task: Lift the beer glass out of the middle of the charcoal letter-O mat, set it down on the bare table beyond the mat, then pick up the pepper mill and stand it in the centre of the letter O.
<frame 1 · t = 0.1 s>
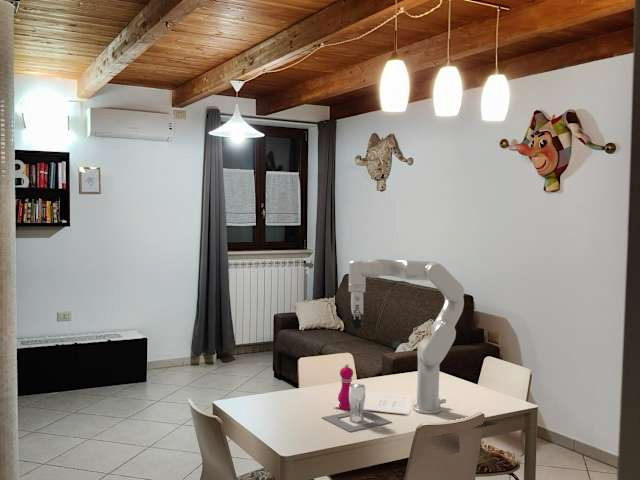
hand: (356, 326, 286), 37 cm above the table, tool pointing down, fingers open, 9 cm apart
pepper mill: (345, 408, 289), on the table
letter o mat: (356, 420, 272), on the table
beer glass: (356, 420, 272), resting in letter o mat
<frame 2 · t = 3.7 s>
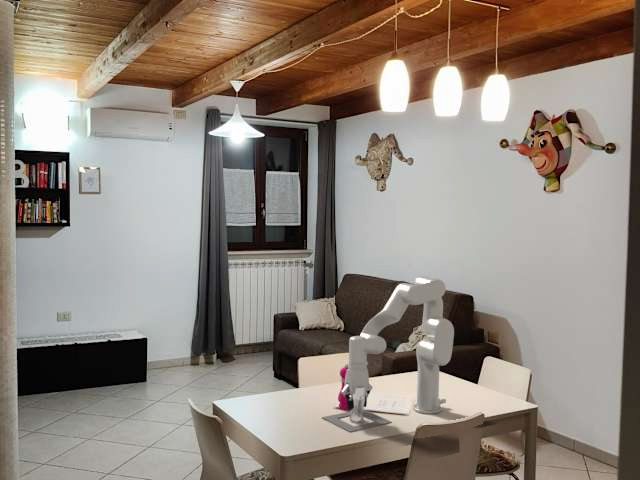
hand: (356, 407, 272), 6 cm above the table, tool pointing down, fingers closed on beer glass, 6 cm apart
beer glass: (356, 420, 272), resting in letter o mat, touching gripper
everything else where it was.
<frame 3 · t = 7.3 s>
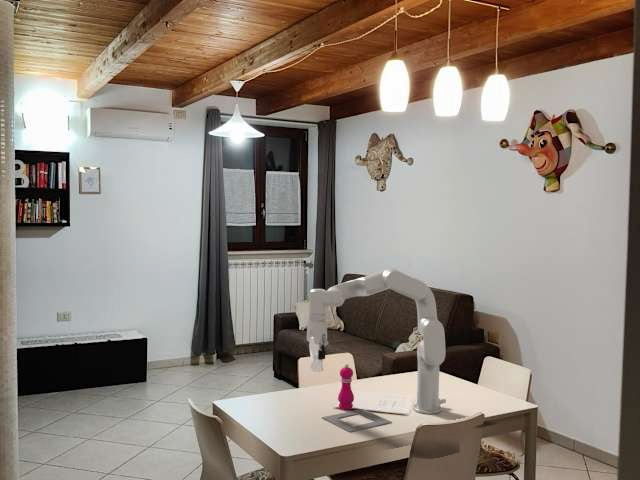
hand: (317, 357, 282), 24 cm above the table, tool pointing down, fingers closed on beer glass, 6 cm apart
beer glass: (316, 370, 282), point 18 cm above the table, touching gripper
everything else where it was.
when the fingers open (7 cm above the table, at t = 10.9 s): beer glass drops 1 cm, on the table.
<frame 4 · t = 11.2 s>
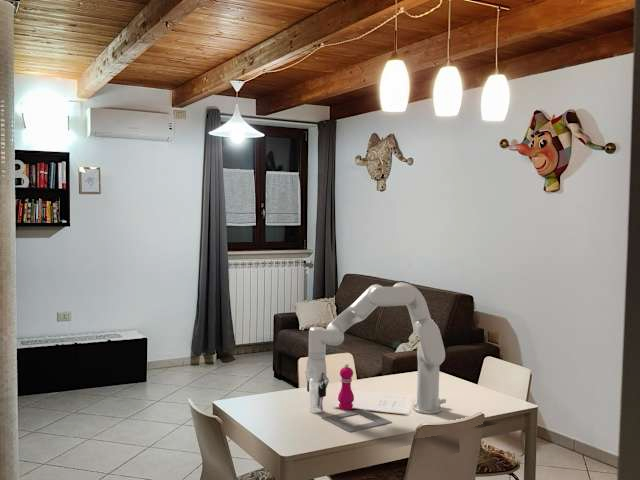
hand: (316, 393, 283), 8 cm above the table, tool pointing down, fingers open, 9 cm apart
beer glass: (316, 411, 283), on the table
everything else where it was.
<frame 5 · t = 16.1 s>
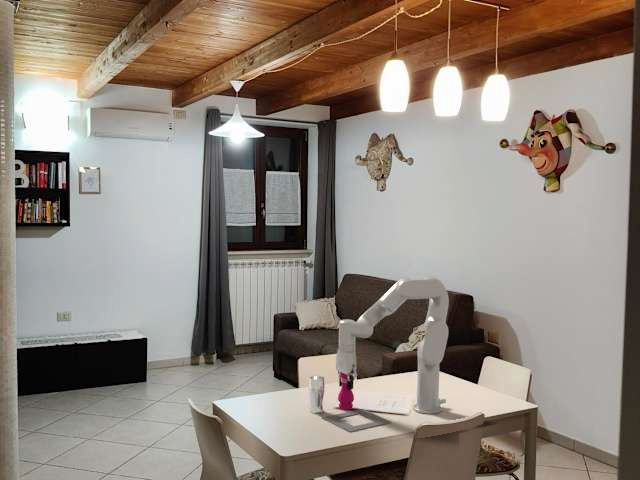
hand: (346, 387, 288), 9 cm above the table, tool pointing down, fingers closed on pepper mill, 5 cm apart
pepper mill: (345, 408, 289), on the table, touching gripper
everything else where it was.
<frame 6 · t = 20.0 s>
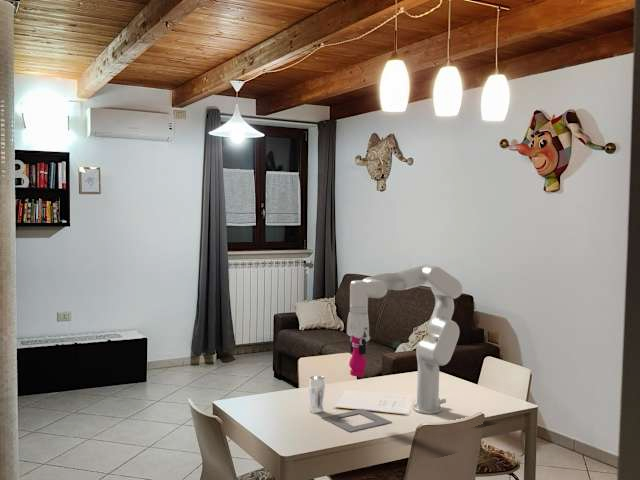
hand: (358, 352, 271), 29 cm above the table, tool pointing down, fingers closed on pepper mill, 5 cm apart
pepper mill: (357, 374, 271), point 20 cm above the table, touching gripper
everything else where it was.
when the fingers open (11 cm above the table, at t = 23.9 s): pepper mill drops 1 cm, resting in letter o mat.
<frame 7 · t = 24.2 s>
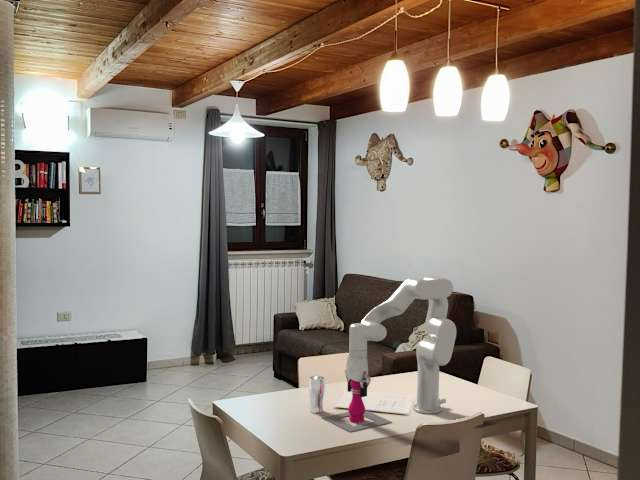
hand: (357, 393, 271), 12 cm above the table, tool pointing down, fingers open, 8 cm apart
pepper mill: (356, 420, 272), resting in letter o mat
everything else where it was.
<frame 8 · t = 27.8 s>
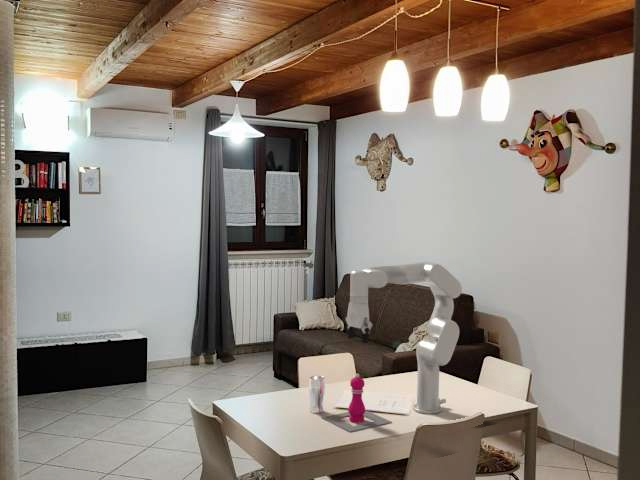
hand: (358, 340, 270), 34 cm above the table, tool pointing down, fingers open, 9 cm apart
nothing on the table moved.
at the end: pepper mill 0.3 cm from the letter o mat (horizontally); pepper mill tilted 0°; beer glass inside the target area (0.1 cm from its centre), on the table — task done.
